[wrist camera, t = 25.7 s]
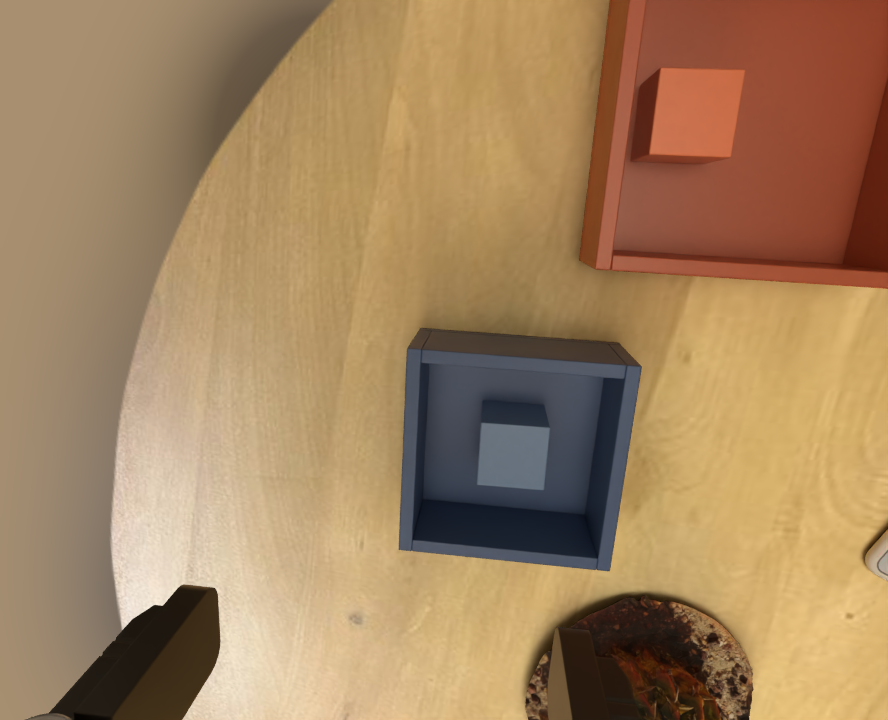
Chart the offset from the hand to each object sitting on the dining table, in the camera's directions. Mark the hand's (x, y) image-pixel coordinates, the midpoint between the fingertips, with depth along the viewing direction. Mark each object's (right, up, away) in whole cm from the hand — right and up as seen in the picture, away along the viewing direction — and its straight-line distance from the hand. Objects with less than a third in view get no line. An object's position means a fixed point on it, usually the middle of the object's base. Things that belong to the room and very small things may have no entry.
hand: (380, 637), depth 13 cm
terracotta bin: (+18, +19, +18) cm, 32 cm away
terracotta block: (+14, +20, +18) cm, 30 cm away
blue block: (+6, +2, +23) cm, 24 cm away
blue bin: (+6, +2, +24) cm, 25 cm away
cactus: (+16, -18, +29) cm, 37 cm away
